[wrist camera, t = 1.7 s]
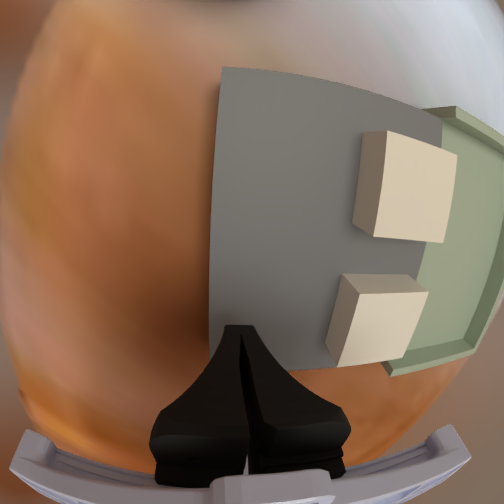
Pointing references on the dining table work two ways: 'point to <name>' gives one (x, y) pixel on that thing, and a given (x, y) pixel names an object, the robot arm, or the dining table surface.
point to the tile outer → (403, 188)
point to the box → (462, 250)
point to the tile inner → (374, 317)
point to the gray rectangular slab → (296, 206)
